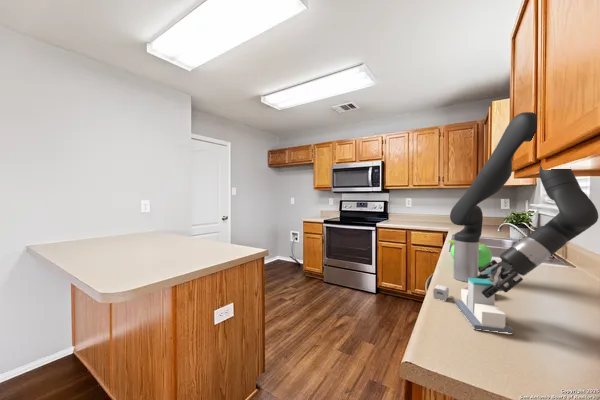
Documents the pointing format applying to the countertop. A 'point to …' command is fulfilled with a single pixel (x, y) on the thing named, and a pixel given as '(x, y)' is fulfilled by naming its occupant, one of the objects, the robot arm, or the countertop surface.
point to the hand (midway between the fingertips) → (478, 289)
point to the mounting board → (475, 322)
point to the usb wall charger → (440, 292)
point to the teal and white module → (478, 293)
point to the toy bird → (484, 253)
